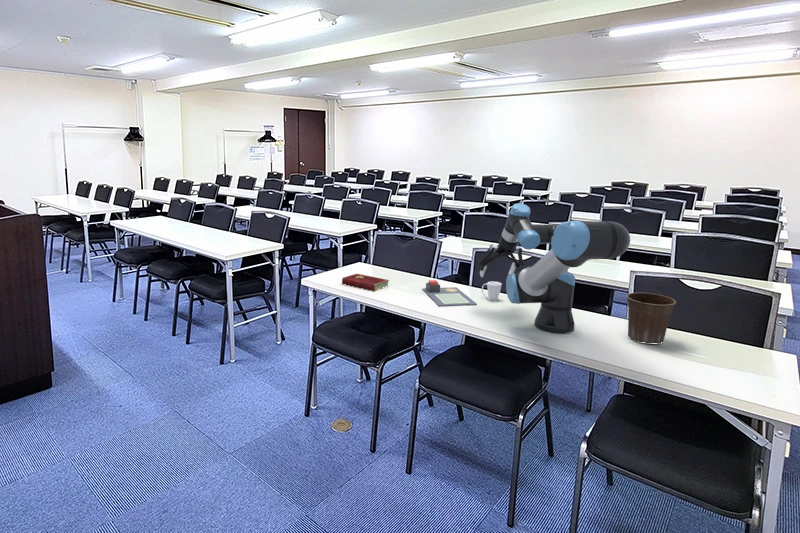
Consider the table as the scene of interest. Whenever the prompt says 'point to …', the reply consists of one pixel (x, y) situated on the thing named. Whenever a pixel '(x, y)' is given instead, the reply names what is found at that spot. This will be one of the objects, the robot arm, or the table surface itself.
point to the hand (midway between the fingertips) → (495, 275)
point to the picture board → (450, 297)
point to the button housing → (432, 288)
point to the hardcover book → (365, 282)
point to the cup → (492, 290)
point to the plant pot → (648, 316)
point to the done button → (433, 282)
